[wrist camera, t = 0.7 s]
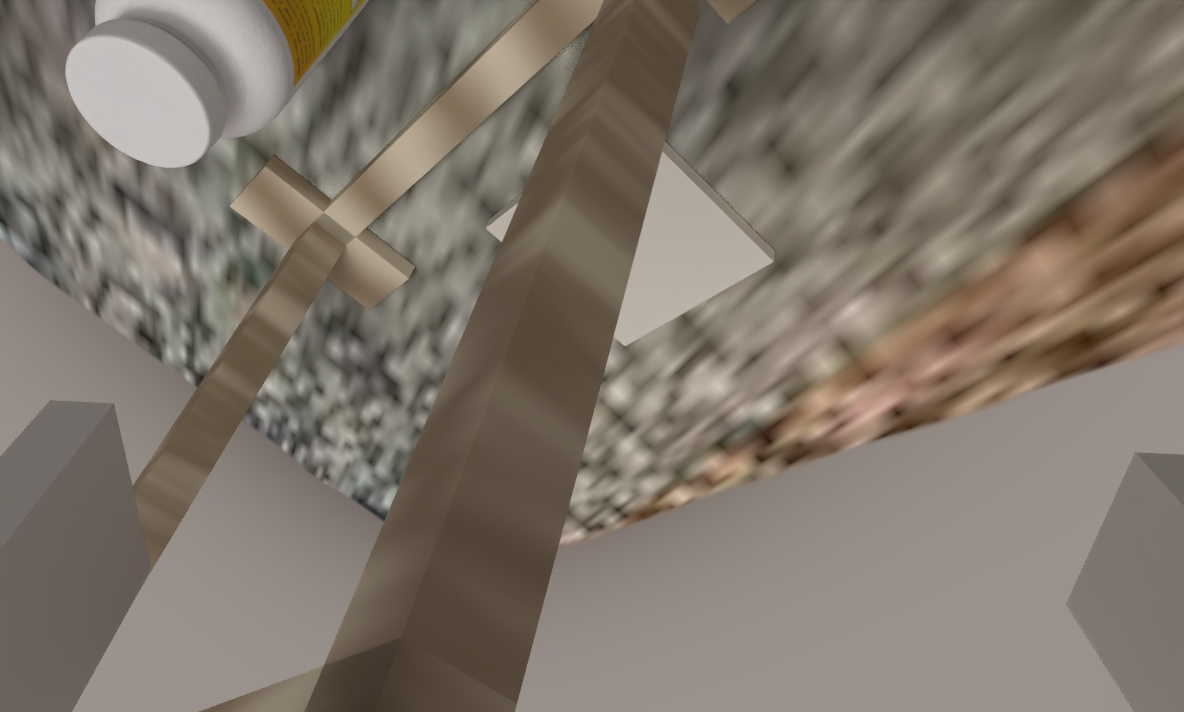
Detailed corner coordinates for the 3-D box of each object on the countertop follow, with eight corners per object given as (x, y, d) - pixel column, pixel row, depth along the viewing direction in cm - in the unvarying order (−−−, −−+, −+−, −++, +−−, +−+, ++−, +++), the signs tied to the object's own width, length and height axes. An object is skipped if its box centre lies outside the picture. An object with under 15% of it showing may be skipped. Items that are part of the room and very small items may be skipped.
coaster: (630, 106, 40) (627, 116, 39) (774, 250, 44) (773, 261, 43) (490, 218, 46) (485, 228, 46) (627, 335, 50) (625, 346, 50)
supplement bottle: (275, -193, 34) (73, -46, 25) (416, -57, 37) (277, 119, 28) (200, -69, 38) (5, 93, 30) (332, 45, 41) (188, 225, 32)
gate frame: (646, -269, 30) (85, 641, 8) (814, -57, 34) (723, 952, 12) (238, 194, 48) (-261, 845, 27) (375, 298, 52) (32, 943, 31)
